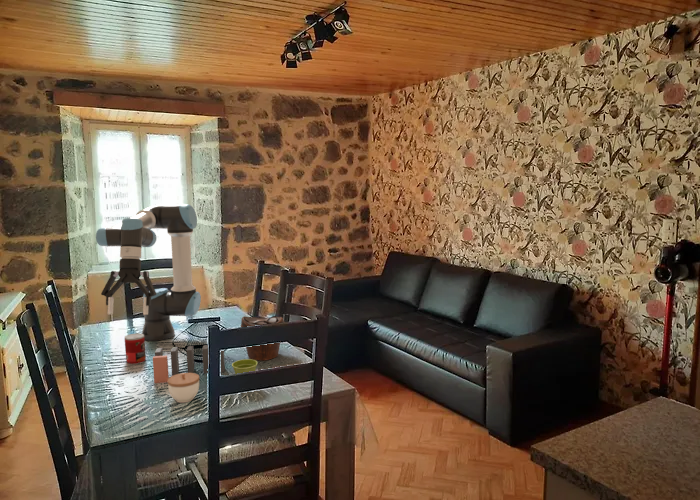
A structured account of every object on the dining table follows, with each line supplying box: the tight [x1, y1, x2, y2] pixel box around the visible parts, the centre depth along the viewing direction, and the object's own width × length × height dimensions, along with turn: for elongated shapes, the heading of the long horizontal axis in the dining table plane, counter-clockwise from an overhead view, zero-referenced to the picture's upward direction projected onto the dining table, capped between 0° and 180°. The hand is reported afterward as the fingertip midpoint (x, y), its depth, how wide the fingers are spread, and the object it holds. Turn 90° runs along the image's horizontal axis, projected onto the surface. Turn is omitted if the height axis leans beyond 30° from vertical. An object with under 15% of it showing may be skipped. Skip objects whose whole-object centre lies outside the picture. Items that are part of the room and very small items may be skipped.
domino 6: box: [220, 350, 226, 373], centre depth 214 cm, size 5×2×10 cm, turn 10°
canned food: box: [124, 332, 147, 365], centre depth 225 cm, size 8×8×11 cm
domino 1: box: [154, 347, 164, 356], centre depth 210 cm, size 5×2×10 cm, turn 10°
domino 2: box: [152, 354, 170, 384], centre depth 203 cm, size 5×2×10 cm, turn 99°
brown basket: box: [240, 315, 285, 361], centre depth 230 cm, size 18×20×18 cm
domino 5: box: [201, 344, 209, 374], centre depth 213 cm, size 5×2×10 cm, turn 9°
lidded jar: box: [167, 372, 200, 403], centre depth 187 cm, size 11×11×9 cm
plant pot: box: [231, 358, 258, 374], centre depth 198 cm, size 9×9×9 cm
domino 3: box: [170, 346, 180, 376], centre depth 211 cm, size 5×2×10 cm, turn 9°
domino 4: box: [186, 345, 196, 373], centre depth 212 cm, size 5×2×10 cm, turn 9°
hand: (127, 314), depth 200 cm, fingers open, 13 cm apart
